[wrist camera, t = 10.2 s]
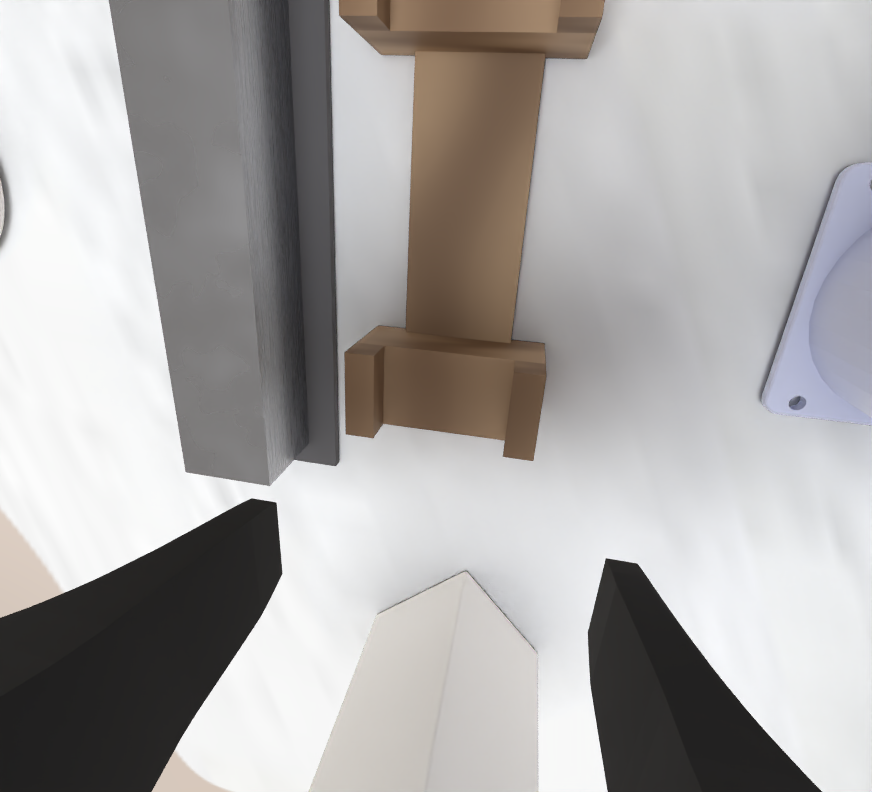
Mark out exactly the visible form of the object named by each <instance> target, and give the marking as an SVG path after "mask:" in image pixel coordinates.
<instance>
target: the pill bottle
mask: <svg viewBox="0 0 872 792" xmlns="http://www.w3.org/2000/svg"><path fill="white" fill-rule="evenodd" d="M3 224H4V196H3V189H2V184H1V180H0V236H1V233H2V229H3Z"/></svg>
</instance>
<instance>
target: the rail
mask: <svg viewBox="0 0 872 792" xmlns="http://www.w3.org/2000/svg"><path fill="white" fill-rule="evenodd" d="M109 4H110V10H111V16H112V23H113V29H114V35H115V41H116V47H117V53H118V59H119V65H120V72H121V78H122V84H123V90H124V96H125V102H126V108H127V115H128V121H129V127H130V133H131V139H132V145H133V151H134V157H135V164H136V170H137V176H138V182H139V188H140V194H141V200H142V207H143V213H144V219H145V225H146V231H147V237H148V243H149V249H150V256H151V262H152V268H153V274H154V280H155V286H156V292H157V299H158V305H159V311H160V317H161V323H162V329H163V335H164V341H165V348H166V354H167V360H168V366H169V372H170V378H171V384H172V391H173V397H174V403H175V409H176V415H177V421H178V427H179V433H180V440H181V446H182V452H183V458H184V464H185V470H186V472H188V473H194V474H200V475H206V476H213V477H219V478H225V479H231V480H237V481H243V482H249V483H255V484H261V485H267V486H270V485H271V484H272V483H273V482H274V481H275V480H276V479H277V478H278V477H279V476H280V474H281V473H282V472H283V471H284V470H285V469H286V468H287V467H288V466H289V465H290V464H291V463H292V461H293V460H294V459H295V458H296V457H297V456H298V455H299V454H300V453H301V452H302V451H303V450H304V449H305V447H306V446H307V445H308V444H309V426H308V405H307V384H306V363H305V342H304V321H303V300H302V280H301V259H300V238H299V217H298V196H297V175H296V154H295V133H294V112H293V91H292V70H291V49H290V29H289V8H288V0H109Z"/></svg>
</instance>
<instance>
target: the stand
mask: <svg viewBox="0 0 872 792" xmlns="http://www.w3.org/2000/svg"><path fill="white" fill-rule="evenodd" d="M604 2H605V0H339V16H340V17H341V18H342V19H343V20H345V21H346V22H347V23H348V24H349V25H350V26H351V27H352V28H353V29H354V30H355V31H356V32H357V33H358V34H360V35H361V36H362V37H363V38H364V39H365V40H366V41H367V42H368V43H369V44H370V45H371V46H372V47H373V48H374V49H376V50H377V51H378V52H379V53H380V54H381V55H415V73H414V102H413V131H412V160H411V189H410V218H409V247H408V276H407V305H406V329H405V328H396V327H386V326H377V327H376V328H374V329H373V330H372V331H371V332H369V333H368V334H367V335H366V336H364V337H363V338H362V339H361V340H359V341H358V342H357V343H356V344H354V345H353V346H352V347H351V348H349V349H348V350H347V351H346V352H345V415H346V434H348V435H355V436H362V437H369V438H374V436H375V435H376V433H377V432H378V430H379V429H380V427H381V426H382V424H390V425H397V426H404V427H411V428H419V429H426V430H433V431H440V432H448V433H455V434H462V435H469V436H477V437H484V438H491V439H498V440H505V444H504V452H503V457H509V458H516V459H523V460H530V461H533V460H534V453H535V447H536V440H537V434H538V427H539V421H540V414H541V408H542V401H543V395H544V389H545V382H546V361H545V344H544V343H537V342H527V341H518V340H511V336H512V328H513V320H514V311H515V303H516V295H517V287H518V278H519V270H520V262H521V254H522V245H523V237H524V229H525V221H526V212H527V204H528V196H529V188H530V180H531V171H532V163H533V155H534V147H535V138H536V130H537V122H538V114H539V105H540V97H541V89H542V81H543V72H544V64H545V58H573V59H587V57H588V54H589V52H590V49H591V46H592V43H593V41H594V38H595V35H596V33H597V30H598V27H599V24H600V22H601V19H602V15H603V8H604Z"/></svg>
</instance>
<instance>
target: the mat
mask: <svg viewBox="0 0 872 792" xmlns="http://www.w3.org/2000/svg"><path fill="white" fill-rule="evenodd" d="M288 8H289V29H290V49H291V70H292V91H293V112H294V133H295V154H296V175H297V196H298V217H299V238H300V259H301V280H302V300H303V321H304V342H305V363H306V384H307V405H308V426H309V444H308V445H307V446H306V447H305V449H304V450H303V451H302V452H301V453H300V454H299V455H298V456H297V457H296V458H295V459H294V460H299V461H305V462H312V463H318V464H325V465H331V466H336V465H337V464H338V463H339V432H338V387H337V342H336V297H335V252H334V206H333V161H332V116H331V71H330V26H329V0H288Z"/></svg>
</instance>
